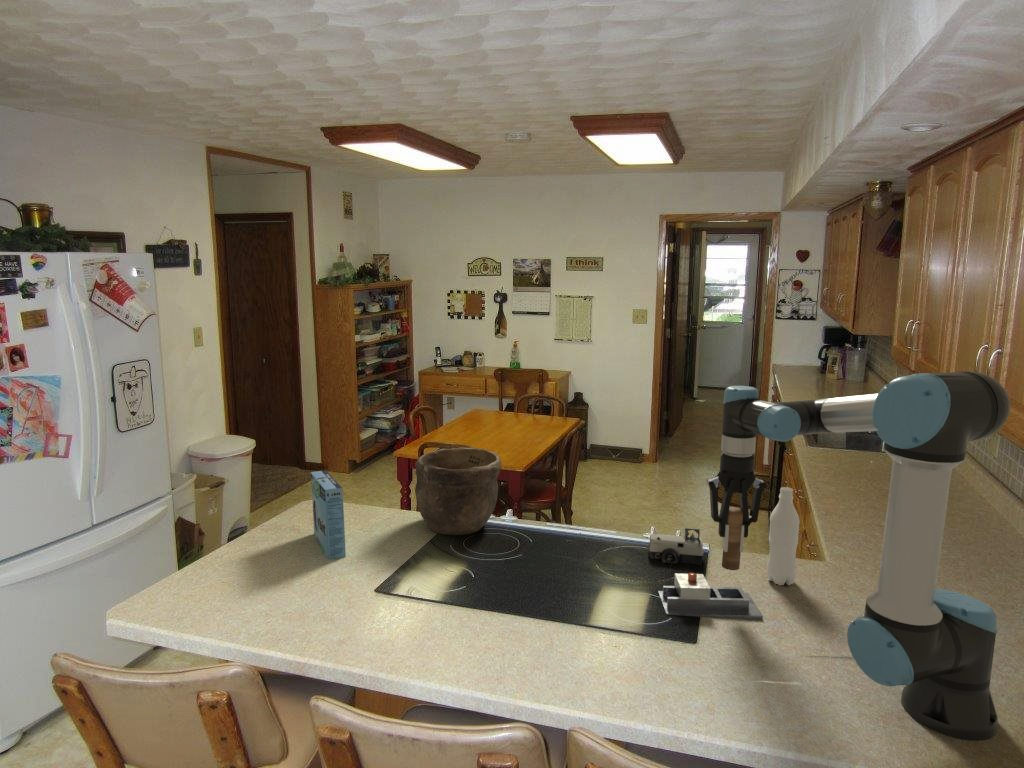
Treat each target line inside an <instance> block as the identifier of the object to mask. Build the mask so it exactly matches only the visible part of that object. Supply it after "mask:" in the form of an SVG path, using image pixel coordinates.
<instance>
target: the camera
mask: <svg viewBox="0 0 1024 768" xmlns="http://www.w3.org/2000/svg"><path fill="white" fill-rule="evenodd" d="M689 531H694V532H695V533H696V534H697V535H698V536H697V537H696V536H695V534H694V532H691V535H690V533H689ZM700 531H701V529H700V528H698V527H687V526H686V527H685V528H684V536H681V535H672V534H660V533H650V536H649V544H648V545H649V546H648V557H649V559H651V560H658V561H662V563H667V564H675V565H678V564H681V563H682V564H687V563H688V564H689V565H695V564H696V565H698V566H702V562H703V557H704V554H705V550H704V548H703V539H702V538H701V537H700V536H701V535H700V534H701V533H700ZM689 535H690V536H689ZM688 564H687V565H688Z"/></svg>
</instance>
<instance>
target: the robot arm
mask: <svg viewBox="0 0 1024 768" xmlns="http://www.w3.org/2000/svg"><path fill="white" fill-rule="evenodd" d="M1010 411H1011V401H1010V397H1009V395H1008V392H1007V391H1006V389H1005V387H1004V386H1003V385H1002V384H1001V383H1000V382H999V381H997V380H996V379H995V378H993V377H992V376H991V375H988V374H985V373H982V372H978V371H977V372H976V371H967V370H965V371H956V372H955V371H954V372H930V373H929V372H928V373H925V372H919V373H913V374H910V375H903V376H899V377H896V378H894V379H892V380H891V381H889V382H888V383H887V384H885V385H884V386H883V387H882V388H881V389H880V390H879V392H877V393H869V394H868V393H867V394H857V395H849V396H847V395H846V396H838V397H832V398H830V397H829V398H820V399H810V400H809V399H807V400H794V401H792V400H791V401H779V402H778V401H777V402H772V401H771V402H770V401H766V400H762V399H760V396H759V389H758V388H756V387H754V386H748V385H731V386H728V387H726V388H725V390H724V394H723V402H722V423H721V424H722V425H721V444H720V450H721V451H722V452H721V453H720V462H719V472H718V473H717V476H715V477H714V478H707V479H706V483H707V486H708V488H709V499H710V501H709V502H710V517H711V519H712V520H713V521H714V522H715V523H718V535H719V536H720V538H722V539H721V549H722V551H723V550H724V552H728V536H729V525H727V524H726V522H727V517H728V512H729V508H730V507H731V501H732V497H733V495H734V493H738V497H739V505H740V506H739V508H740V509H741V510H742V511H743V525H742V530H741V542H740V552H741V553H744V540H745V538H748V536H749V527H750V525H751V524H752V523H757V522H758V519H759V513H760V508H761V501H762V496H763V491H764V490H765V488H766V486H767V483H766V482H765V481H764V480H763V479H761V478H760V479H759V478H757V477H756V475H755V457H756V456H755V455H754V454H755V453H756V444H757V443H756V442H757V441H756V440H757V435H758V436H761V437H764V438H767V439H768V440H770V441H778V442H781V443H782V442H784V443H785V442H789V441H791V440H792V439H794V438H795V437H797V436H802V435H803V436H804V435H817V434H835V433H860V432H863V433H864V432H876V434H877V436H878V437H879V439H881V440H882V442H884V447H883V450H884V452H885V453H886V454H887V455H888V456H889V457H890V459H891V460H892V464H891V474H890V480H889V491H888V498H887V506H886V515H885V521H884V530H883V539H882V548H881V556H880V563H879V570H878V571H879V572H878V574H879V575H878V581H877V588H876V590H874V591H872V592H870V593H868V595H867V596H866V598H865V606H864V615H863V616H858V617H857V618H855V619H854V620H852V621H851V622H850V623H849V625H848V627H847V632H846V639H847V640H846V641H847V644H848V648H849V652H850V653H851V656H852V657H853V659H854V661H855V663H856V665H857V666H858V668H859V669H860V671H862V672H863V673H864V675H866V677H868V678H869V679H870V680H872V681H873V682H874V683H876V684H879V685H881V686H884V687H890V688H891V687H898V686H904V687H903V689H902V691H901V697H900V701H901V705H902V707H903V709H904V710H905V712H906V714H908V715H909V716H910V717H911V718H912V719H914V720H915V721H916V722H918V723H919V724H920V725H922V726H923V727H926V728H928V729H930V730H932V731H934V732H935V733H938V734H941V735H943V736H947V737H949V738H950V737H951V738H954V739H958V740H962V741H971V742H972V741H974V742H978V741H979V742H980V741H987V740H989V739H992V738H993V737H995V735H996V734H997V731H998V724H999V722H998V721H999V720H998V715H997V710H996V707H995V704H994V700H993V695H992V693H991V687H990V686H991V677H992V668H993V662H994V661H993V660H994V653H995V643H996V637H997V633H998V629H997V614H996V612H995V611H994V609H993V608H992V607H991V606H990V605H988V604H986V603H985V602H982V601H981V600H979V599H977V598H974V597H972V596H970V595H966V594H963V593H960V592H956V591H952V590H947V589H940V588H937V580H938V576H939V575H938V573H939V566H940V560H941V559H940V558H941V552H942V546H943V540H944V539H943V538H944V531H945V523H946V517H947V510H948V509H947V508H948V503H949V501H948V500H949V494H950V487H951V481H952V473H953V469H955V468H956V467H958V466H959V465H961V464H962V463H964V462H965V459H966V453H967V452H966V451H967V445H968V442H971V441H978V440H982V439H985V438H988V437H991V436H993V435H994V434H995V433H997V432H999V430H1001V428H1003V426H1005V423H1006V422H1007V421H1008V418H1009V415H1010V413H1011V412H1010ZM719 483H721V486H722V487H723V491H722V492H723V496H722V500H721V504H720V511H719V500H718V499H719V498H718V495H719V494H718V490H717V488H718V487H719ZM752 485H753V487H754V488H753V492H752V497H751V503H750V509H749V504H748V503H749V501H748V490H749V488H751V486H752Z"/></svg>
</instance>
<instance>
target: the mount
mask: <svg viewBox="0 0 1024 768" xmlns="http://www.w3.org/2000/svg"><path fill="white" fill-rule="evenodd" d="M710 588H711V590H710V600H697V599H680V597H679V594H678V592H677V590H676V587H675V585H663V586H662V590H658V594H659V597H660V601H661V603H662V606H663V609H664V611H665V612H664V613H665V614H666V615H667V616H682V617H683V616H684V617H685V616H686V617H701V618H703V617H704V618H720V619H721V618H722V619H741V620H757V621H759V620H760V621H762V620H764V618H763V617H764V615H763V614H762V612H761V611H760V609H759V608H758V607H757V605H756V603H755V601H754V600H753V598H752V596H750V594H749V592H745V591H744V590H743V589H742V587H737V586H735V587H733V586H731V587H729V586H710Z"/></svg>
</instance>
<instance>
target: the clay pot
mask: <svg viewBox="0 0 1024 768" xmlns="http://www.w3.org/2000/svg"><path fill="white" fill-rule="evenodd" d="M414 465H415V475H416V477H417V480H416V484H415V487H414V493H415V499H416V505H417V508H418V510H419V513H420V515H421V517H422V519H423V521H424V522H425V524H426V526H427V527H428V528H429V529H430V530H431V531H432V532H435V533H437V534H441V535H446V536H447V535H448V536H465V535H469V534H474V533H476V532H479V531H480V530H481V529H482V528H483V527H484V526H485V525H486V524H487V523H488V521H489V519H490V518H491V516H492V515H493V513H494V511H495V508H496V505H497V501H498V493H499V484H498V481H497V480H498V477H499V475H500V474H501V468H502V461H501V457H500V456H499V455H498V454H497V453H494V452H493V451H490V450H488V449H482V448H478V447H458V448H456V447H455V448H454V447H452V448H440V449H437V450H434V451H431V452H427V453H425V454H423V455H420V456H419V458H417V460H416V462H415V463H414Z"/></svg>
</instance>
